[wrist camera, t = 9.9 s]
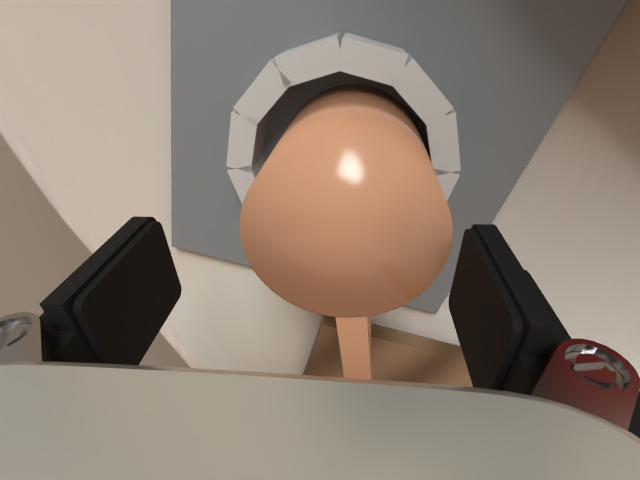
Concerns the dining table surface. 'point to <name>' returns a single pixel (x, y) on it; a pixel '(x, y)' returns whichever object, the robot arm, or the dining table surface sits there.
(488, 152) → the squash holder
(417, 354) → the walnut board
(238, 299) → the dining table surface
